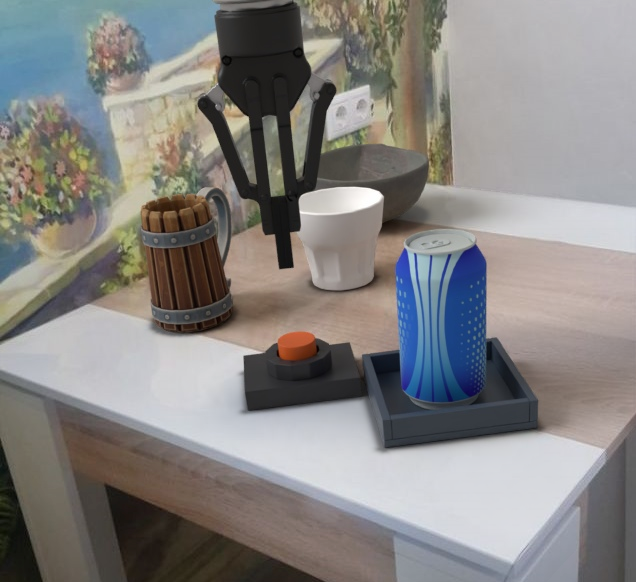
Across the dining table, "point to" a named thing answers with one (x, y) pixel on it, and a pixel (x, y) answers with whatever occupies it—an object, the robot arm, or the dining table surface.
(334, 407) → the dining table surface
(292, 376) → the dark grey button base
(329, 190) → the cup
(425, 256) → the beer can
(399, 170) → the bowl
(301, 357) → the button
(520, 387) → the shallow square tray
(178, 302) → the mug
